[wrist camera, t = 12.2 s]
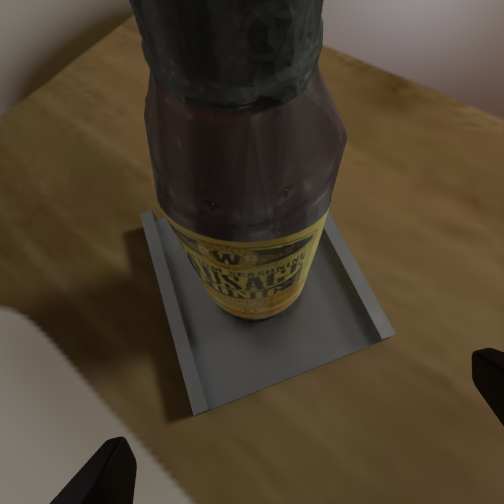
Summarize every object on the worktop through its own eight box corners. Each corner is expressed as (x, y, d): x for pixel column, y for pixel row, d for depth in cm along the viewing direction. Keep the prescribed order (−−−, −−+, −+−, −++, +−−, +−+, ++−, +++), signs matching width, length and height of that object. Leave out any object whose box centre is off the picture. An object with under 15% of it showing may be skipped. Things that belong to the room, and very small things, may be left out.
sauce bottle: (197, 314, 21) (-310, -199, 3) (222, 226, 24) (21, -360, 5) (302, 335, 20) (490, -244, 2) (317, 242, 22) (468, -420, 4)
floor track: (386, 339, 20) (395, 333, 18) (201, 413, 19) (193, 415, 18) (298, 172, 25) (299, 156, 24) (149, 226, 24) (139, 213, 23)
